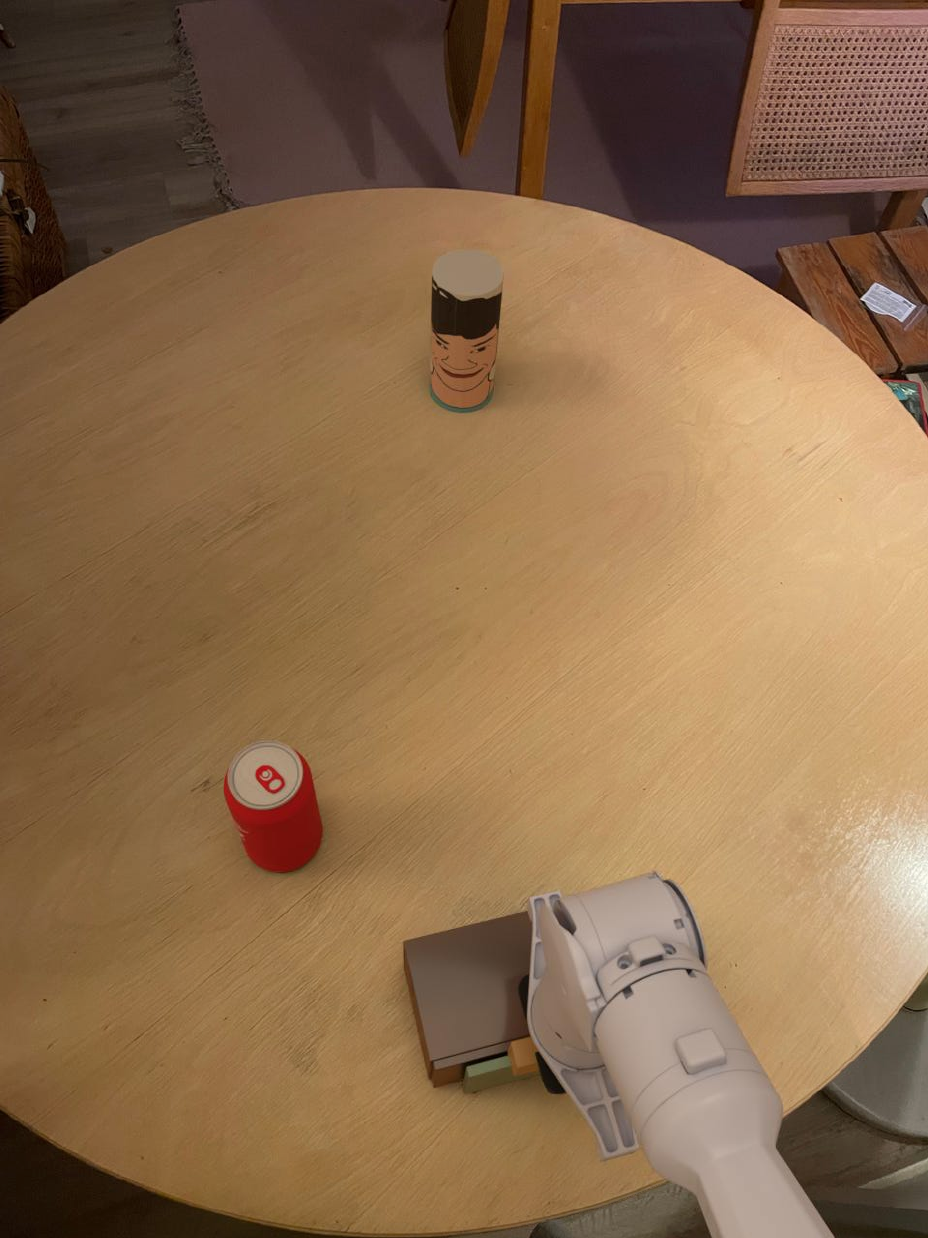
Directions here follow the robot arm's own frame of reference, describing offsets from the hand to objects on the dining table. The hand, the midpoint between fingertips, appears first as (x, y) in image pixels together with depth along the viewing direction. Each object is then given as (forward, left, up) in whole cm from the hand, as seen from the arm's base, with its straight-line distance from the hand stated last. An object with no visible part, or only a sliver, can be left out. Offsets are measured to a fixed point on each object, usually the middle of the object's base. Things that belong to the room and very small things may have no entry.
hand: (562, 1047), depth 66 cm
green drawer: (0, +2, -8) cm, 8 cm away
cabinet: (+6, 0, -8) cm, 10 cm away
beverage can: (+22, +15, -8) cm, 28 cm away
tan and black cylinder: (+67, -11, -8) cm, 68 cm away
